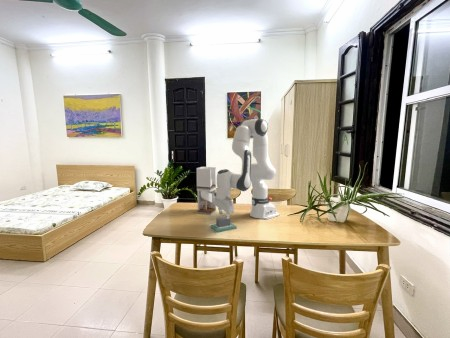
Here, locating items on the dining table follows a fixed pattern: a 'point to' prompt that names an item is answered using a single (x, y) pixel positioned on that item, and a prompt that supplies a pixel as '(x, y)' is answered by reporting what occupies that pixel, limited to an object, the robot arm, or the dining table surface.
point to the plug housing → (222, 222)
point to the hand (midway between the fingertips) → (224, 216)
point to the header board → (223, 227)
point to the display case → (206, 189)
